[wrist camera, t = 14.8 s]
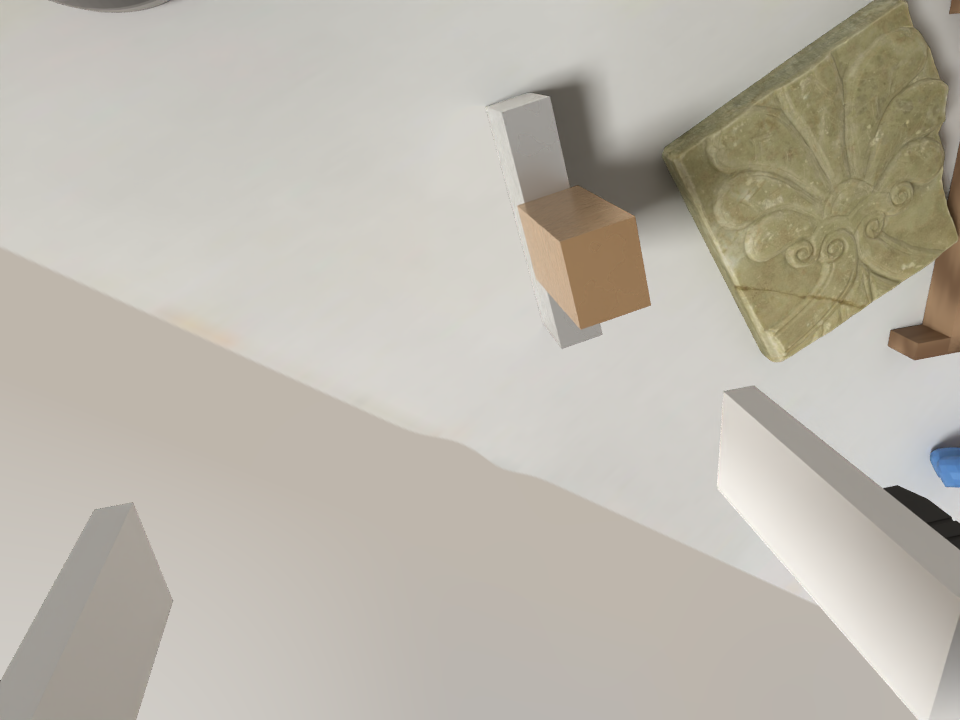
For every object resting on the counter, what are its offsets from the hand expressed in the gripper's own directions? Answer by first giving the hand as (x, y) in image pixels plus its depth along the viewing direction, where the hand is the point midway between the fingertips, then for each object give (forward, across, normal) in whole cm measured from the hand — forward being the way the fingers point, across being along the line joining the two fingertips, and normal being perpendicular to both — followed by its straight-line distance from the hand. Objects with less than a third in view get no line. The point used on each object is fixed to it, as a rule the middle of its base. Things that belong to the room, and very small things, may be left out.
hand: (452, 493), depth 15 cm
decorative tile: (+33, +32, -4) cm, 47 cm away
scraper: (+33, +11, -2) cm, 35 cm away
